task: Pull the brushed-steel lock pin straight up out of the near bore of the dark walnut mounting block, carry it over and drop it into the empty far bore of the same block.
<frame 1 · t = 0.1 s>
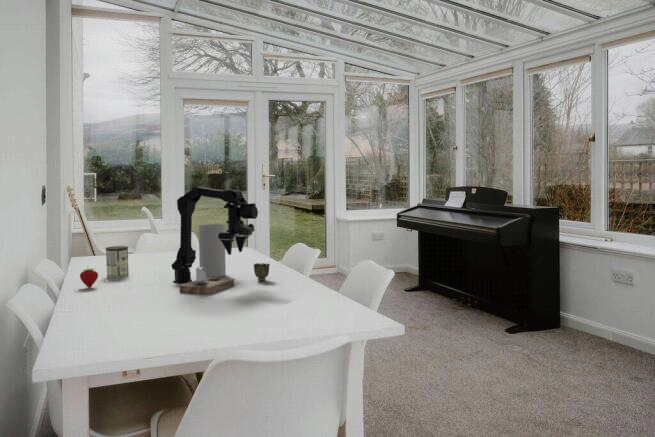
hand: (235, 253, 243), 15 cm above the table, fingers open, 9 cm apart
strawberry: (89, 288, 242), on the table
mount block: (207, 288, 238), on the table
cylinder vase: (212, 276, 270), on the table
coffee can: (117, 275, 271), on the table
cup: (261, 281, 256), on the table
lock pin: (201, 291, 234), resting in mount block
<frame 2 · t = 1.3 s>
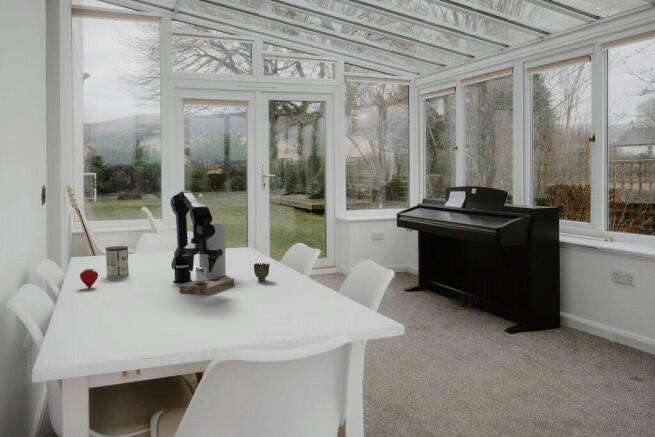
hand: (200, 271, 233), 8 cm above the table, fingers open, 9 cm apart
nothing on the table moved.
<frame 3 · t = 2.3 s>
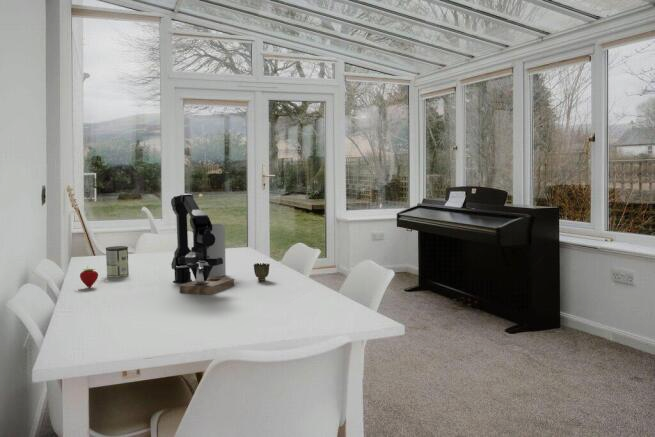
hand: (201, 280, 233), 5 cm above the table, fingers closed on lock pin, 4 cm apart
lock pin: (201, 291, 234), resting in mount block, touching gripper
everything else where it was.
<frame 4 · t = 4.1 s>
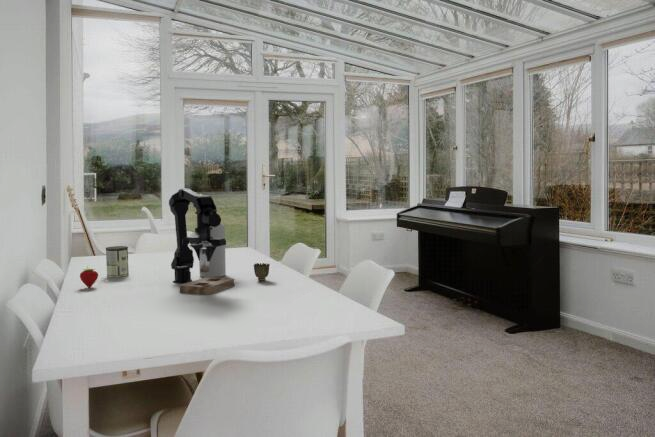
hand: (204, 261, 236), 12 cm above the table, fingers closed on lock pin, 4 cm apart
lock pin: (204, 271, 236), point 8 cm above the table, touching gripper
everything else where it was.
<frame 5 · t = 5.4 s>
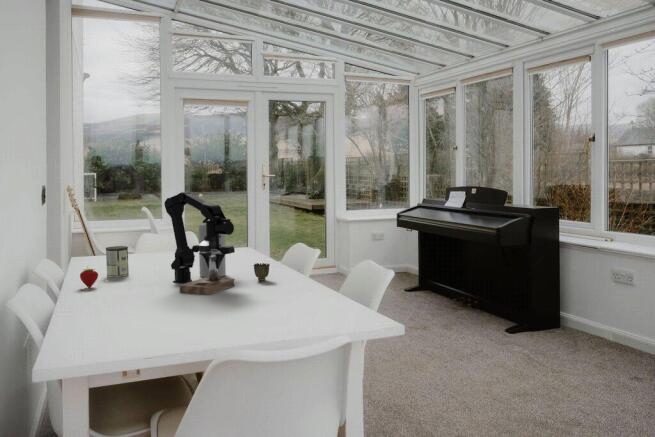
hand: (213, 268, 242), 8 cm above the table, fingers closed on lock pin, 4 cm apart
lock pin: (213, 278, 243), point 4 cm above the table, touching gripper
everything else where it was.
when the fingers open (6 cm above the table, at t = 6.2 s): lock pin drops 1 cm, resting in mount block.
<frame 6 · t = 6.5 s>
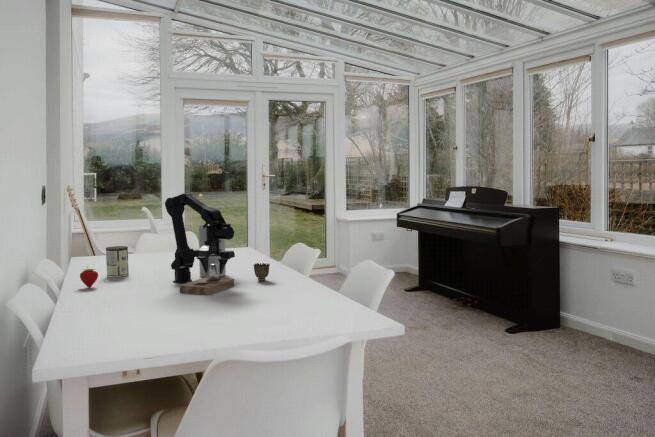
hand: (213, 273, 242), 6 cm above the table, fingers open, 7 cm apart
lock pin: (213, 286, 243), resting in mount block
everything else where it was.
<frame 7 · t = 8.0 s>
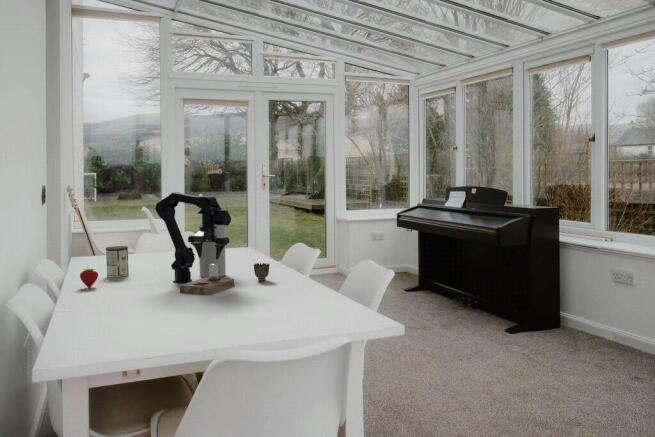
hand: (208, 258, 247), 12 cm above the table, fingers open, 9 cm apart
nothing on the table moved.
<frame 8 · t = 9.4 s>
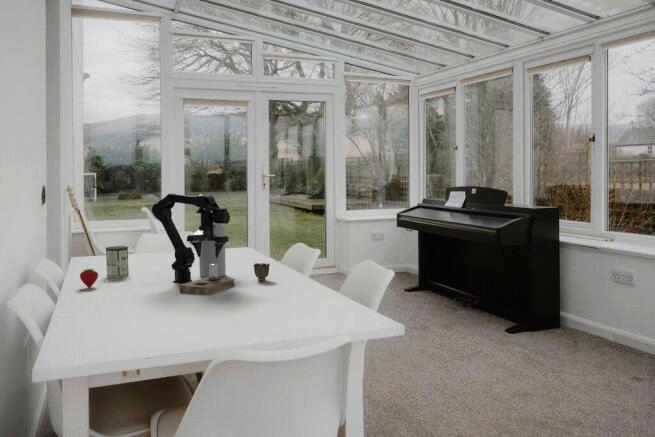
hand: (207, 257, 249), 12 cm above the table, fingers open, 9 cm apart
nothing on the table moved.
at the end: lock pin 0.1 cm from the target spot on the mount block, point 0.0 cm above the mount block's base; lock pin tilted 0°; the gripper is holding nothing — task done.
